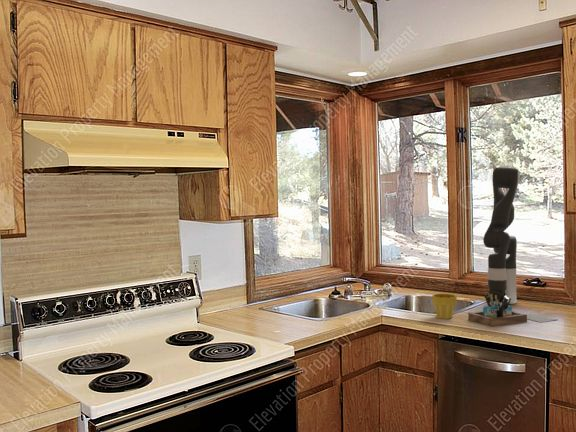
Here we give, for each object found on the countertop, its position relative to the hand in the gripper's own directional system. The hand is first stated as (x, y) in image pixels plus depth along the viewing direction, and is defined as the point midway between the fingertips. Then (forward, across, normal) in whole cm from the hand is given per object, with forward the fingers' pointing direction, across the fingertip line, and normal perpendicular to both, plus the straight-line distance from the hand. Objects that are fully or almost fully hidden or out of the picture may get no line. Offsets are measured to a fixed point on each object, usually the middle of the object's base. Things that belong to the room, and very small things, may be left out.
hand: (497, 318), depth 237 cm
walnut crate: (+1, 0, 0) cm, 1 cm away
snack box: (+1, 0, 0) cm, 1 cm away
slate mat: (+1, -4, -18) cm, 18 cm away
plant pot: (+1, +16, +15) cm, 22 cm away
